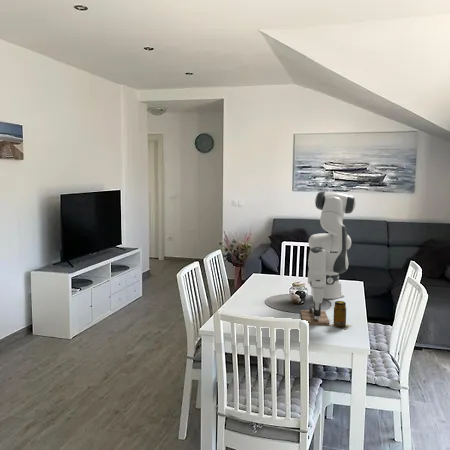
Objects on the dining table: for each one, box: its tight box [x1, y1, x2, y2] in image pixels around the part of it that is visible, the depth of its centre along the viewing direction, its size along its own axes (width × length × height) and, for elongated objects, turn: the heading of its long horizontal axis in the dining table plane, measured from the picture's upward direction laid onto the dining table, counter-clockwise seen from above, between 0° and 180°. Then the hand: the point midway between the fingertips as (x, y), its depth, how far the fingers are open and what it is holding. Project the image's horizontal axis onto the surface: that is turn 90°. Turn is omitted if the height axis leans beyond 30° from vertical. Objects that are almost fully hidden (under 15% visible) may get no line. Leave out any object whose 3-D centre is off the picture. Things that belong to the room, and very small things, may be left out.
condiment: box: [329, 300, 353, 330], centre depth 226 cm, size 7×8×12 cm
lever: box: [308, 302, 322, 319], centre depth 236 cm, size 19×4×10 cm, turn 176°
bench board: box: [300, 309, 331, 327], centre depth 237 cm, size 20×13×2 cm, turn 174°
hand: (316, 307), depth 229 cm, fingers open, 6 cm apart
